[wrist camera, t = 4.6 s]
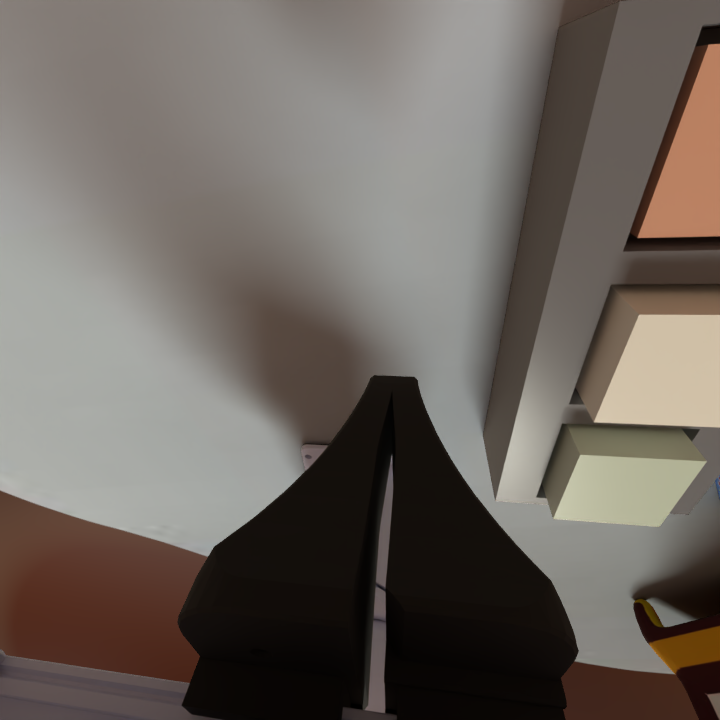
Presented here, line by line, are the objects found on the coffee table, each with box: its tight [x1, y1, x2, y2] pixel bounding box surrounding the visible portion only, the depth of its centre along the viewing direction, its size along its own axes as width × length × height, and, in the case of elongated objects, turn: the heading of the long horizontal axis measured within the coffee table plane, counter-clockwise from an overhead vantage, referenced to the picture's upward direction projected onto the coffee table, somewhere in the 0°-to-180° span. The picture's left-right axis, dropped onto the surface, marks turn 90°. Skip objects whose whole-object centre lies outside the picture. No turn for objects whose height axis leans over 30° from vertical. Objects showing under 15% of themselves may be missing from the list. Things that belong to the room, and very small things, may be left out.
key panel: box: [483, 0, 720, 515], centre depth 17 cm, size 21×10×5 cm, turn 4°
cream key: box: [575, 284, 720, 428], centre depth 15 cm, size 5×5×3 cm
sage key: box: [542, 423, 707, 527], centre depth 19 cm, size 5×5×3 cm
